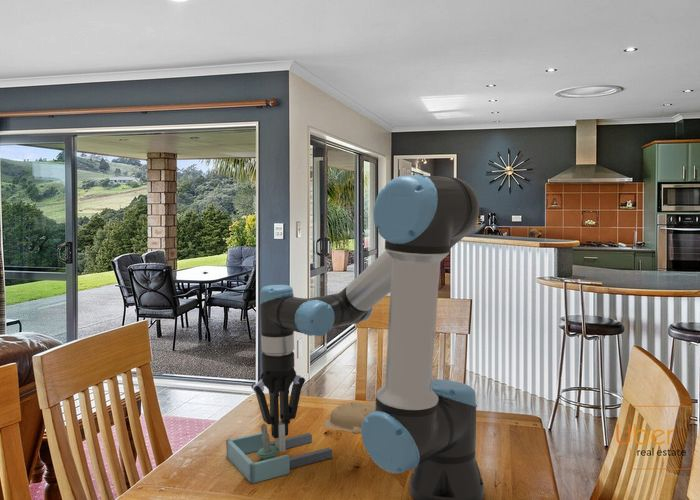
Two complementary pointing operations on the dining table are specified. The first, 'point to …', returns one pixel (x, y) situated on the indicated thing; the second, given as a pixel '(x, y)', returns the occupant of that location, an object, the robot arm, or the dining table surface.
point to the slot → (306, 457)
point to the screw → (266, 446)
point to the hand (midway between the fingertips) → (280, 449)
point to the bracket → (258, 469)
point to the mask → (349, 416)
